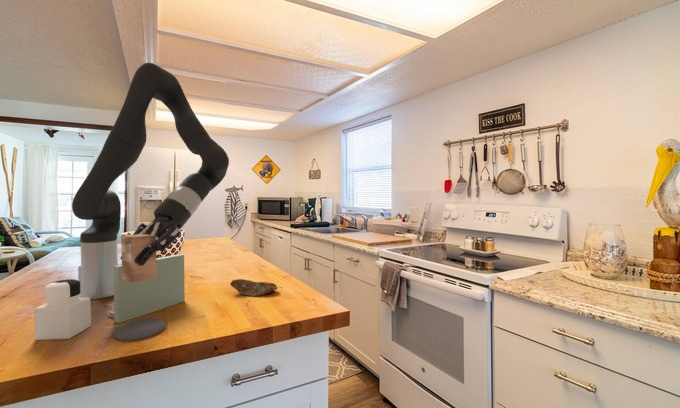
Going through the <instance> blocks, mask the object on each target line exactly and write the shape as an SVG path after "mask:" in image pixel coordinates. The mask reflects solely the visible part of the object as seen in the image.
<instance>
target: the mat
mask: <svg viewBox="0 0 680 408" xmlns="http://www.w3.org/2000/svg"><path fill="white" fill-rule="evenodd" d="M165 324H166V323H165V320H163V319H160V318H154V317H152V318H143V319H136V320H131V321H129V322H126V323H124V324H122V325H120V326H118V327H117V328H116V329H115V330H114V331H113V339H115V340H117V341H120V342H133V341H140V340H144V339H148V338H151V337H154V336H156V335H158V334H161V332H163V331H164V330H165V328H166V325H165Z"/></svg>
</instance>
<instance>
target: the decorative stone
mask: <svg viewBox="0 0 680 408" xmlns="http://www.w3.org/2000/svg"><path fill="white" fill-rule="evenodd" d="M230 286H231V287H232V288H234V289H235V290H236V291H237V292H238V293H239V294H241V295H243V296H248V297H255V298H256V297H261V296H263V295H266V294H269V293H271V292H273V291H276V290H278V286H277V285H276V283H273V282H269V281H253V280H249V279H243V278H241V279H240V278H239V279H232V281H231V282H230Z"/></svg>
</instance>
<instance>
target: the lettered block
mask: <svg viewBox="0 0 680 408" xmlns="http://www.w3.org/2000/svg"><path fill="white" fill-rule="evenodd" d="M151 236H152V235H151V234H137V235H133V234H130V235H129V234H127V235H121V236H120V238H121V239H120V241H121V243H120V244H121V256H122V260H121V265H122V280H126V281H130V282H134V283H135V282H139V281H143V280H148V279H152V278H156V277H157V258H158V257H157V252H156V253H153V255H152V256H151V257H150V258H149V259H148V261H147V262H146V263H145V264H144V265H143V266H140V265H138V264H137V263H136V262H135V261H134V260H135V258H136V257H137V256H138V255H139V254H140V252H141V251H142V250H143V249H144V248H145V247H147V244H148V243H149V241H150V240H151Z"/></svg>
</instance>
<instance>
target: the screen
mask: <svg viewBox="0 0 680 408" xmlns="http://www.w3.org/2000/svg"><path fill="white" fill-rule="evenodd" d="M113 273H114V295H113V310H109V311H108V313H107V316H108V317H110V318H111V319H114V323H117V324H121V323H124V322H126V321H129V320H131V319H135V318H138V317H141V316H145V315H148V314H150V313H154V312H157V311H160V310H163V309H167V308H169V307H172V306H175V305H179V304H182V303H184V302H185V300H186V298H185V297H186V296H185V295H186V293H185V254H181V253H179V254H173V255H167V256H162V257H157V277H156V278H152V279H148V280H143V281H139V282H135V283H134V282H130V281H126V280H122V264H118V265H117V266H113Z"/></svg>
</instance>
